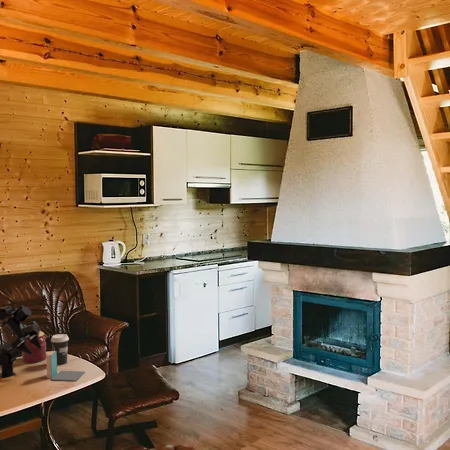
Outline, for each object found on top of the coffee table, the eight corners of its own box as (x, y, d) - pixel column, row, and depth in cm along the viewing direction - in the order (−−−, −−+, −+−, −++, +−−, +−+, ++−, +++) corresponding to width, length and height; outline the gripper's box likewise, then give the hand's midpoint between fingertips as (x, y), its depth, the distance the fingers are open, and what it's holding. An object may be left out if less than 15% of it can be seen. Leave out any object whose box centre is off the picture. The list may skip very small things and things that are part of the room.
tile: (47, 378, 271) (46, 355, 270) (52, 373, 277) (51, 351, 276) (51, 378, 270) (51, 355, 270) (57, 373, 277) (56, 351, 276)
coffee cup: (56, 367, 287) (55, 339, 286) (48, 362, 294) (47, 336, 293) (72, 363, 293) (71, 336, 292) (65, 358, 300) (64, 332, 299)
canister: (50, 359, 300) (49, 328, 298) (27, 365, 291) (26, 333, 289) (40, 354, 309) (39, 323, 308) (18, 359, 301) (17, 328, 299)
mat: (51, 380, 268) (51, 379, 268) (60, 371, 280) (60, 370, 279) (76, 381, 266) (76, 380, 266) (85, 372, 278) (84, 371, 278)
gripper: (17, 322, 262) (37, 347, 262) (37, 313, 281) (56, 336, 280) (2, 336, 265) (22, 360, 264) (22, 326, 283) (41, 349, 282)
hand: (36, 351), depth 272 cm, fingers open, 9 cm apart
